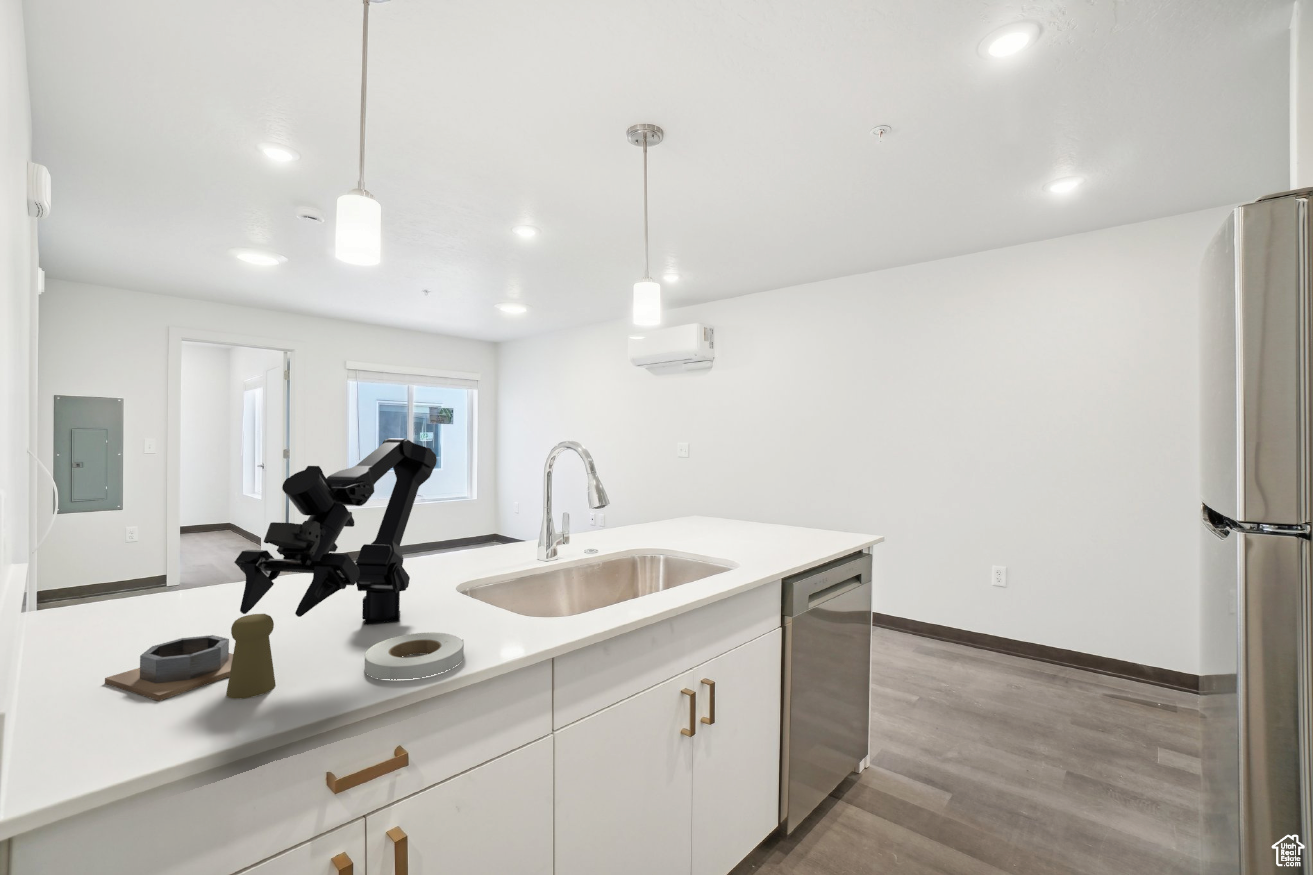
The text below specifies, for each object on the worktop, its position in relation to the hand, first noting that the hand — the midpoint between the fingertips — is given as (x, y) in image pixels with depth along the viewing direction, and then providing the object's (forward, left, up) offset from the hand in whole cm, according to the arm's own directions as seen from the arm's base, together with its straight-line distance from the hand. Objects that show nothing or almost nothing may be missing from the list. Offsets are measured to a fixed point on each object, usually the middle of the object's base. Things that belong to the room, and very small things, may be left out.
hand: (269, 614), depth 88 cm
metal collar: (+13, -7, -10) cm, 18 cm away
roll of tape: (-21, 0, -11) cm, 24 cm away
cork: (+2, +3, -10) cm, 11 cm away
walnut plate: (+13, -7, -10) cm, 18 cm away
